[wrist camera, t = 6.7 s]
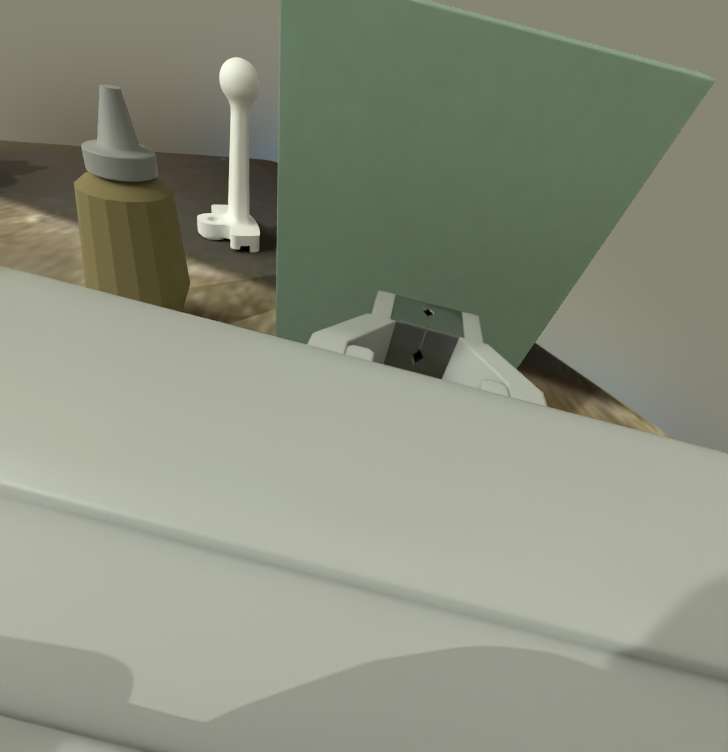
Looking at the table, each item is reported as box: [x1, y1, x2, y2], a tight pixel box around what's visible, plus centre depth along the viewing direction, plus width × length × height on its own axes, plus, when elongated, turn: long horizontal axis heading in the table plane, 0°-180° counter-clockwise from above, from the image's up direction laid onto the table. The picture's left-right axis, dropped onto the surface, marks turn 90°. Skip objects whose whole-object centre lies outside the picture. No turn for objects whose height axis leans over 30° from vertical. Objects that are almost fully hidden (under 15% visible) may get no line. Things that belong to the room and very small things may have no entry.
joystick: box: [197, 58, 260, 252], centre depth 50 cm, size 11×8×20 cm
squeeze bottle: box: [74, 85, 190, 312], centre depth 32 cm, size 8×8×18 cm
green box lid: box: [276, 0, 715, 369], centre depth 16 cm, size 15×12×1 cm
